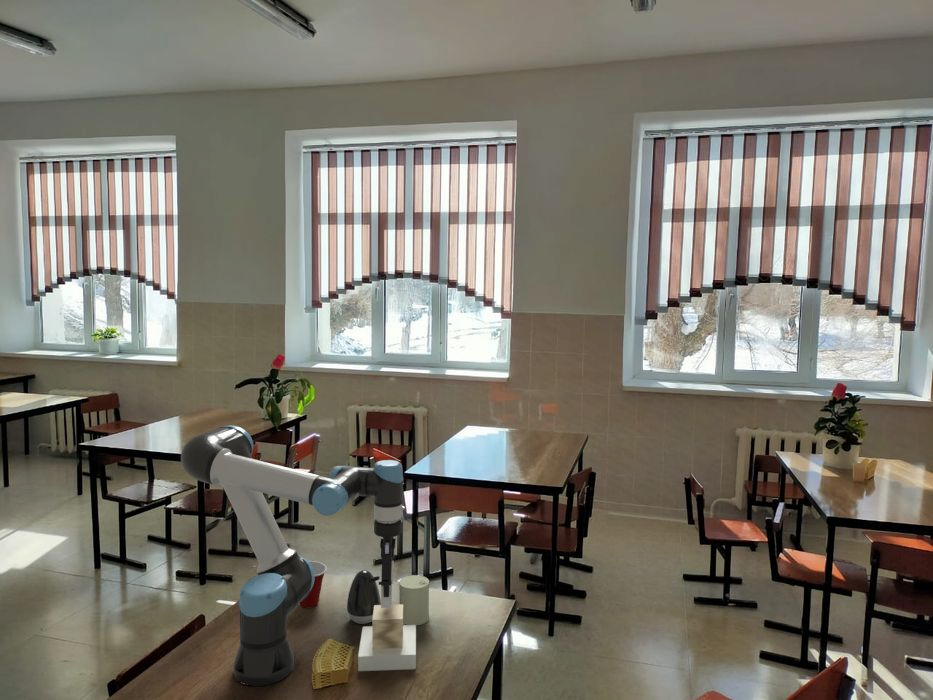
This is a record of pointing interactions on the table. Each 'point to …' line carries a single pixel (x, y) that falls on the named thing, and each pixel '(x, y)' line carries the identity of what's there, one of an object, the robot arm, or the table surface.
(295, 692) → the table surface
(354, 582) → the pump dispenser
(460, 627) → the table surface
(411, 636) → the white square slab
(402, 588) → the can
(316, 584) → the plastic cup
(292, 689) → the table surface
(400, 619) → the maple cube
